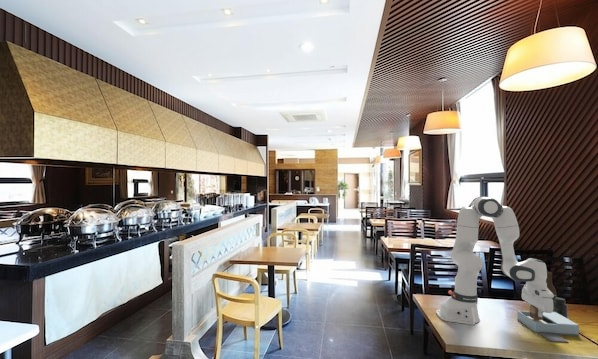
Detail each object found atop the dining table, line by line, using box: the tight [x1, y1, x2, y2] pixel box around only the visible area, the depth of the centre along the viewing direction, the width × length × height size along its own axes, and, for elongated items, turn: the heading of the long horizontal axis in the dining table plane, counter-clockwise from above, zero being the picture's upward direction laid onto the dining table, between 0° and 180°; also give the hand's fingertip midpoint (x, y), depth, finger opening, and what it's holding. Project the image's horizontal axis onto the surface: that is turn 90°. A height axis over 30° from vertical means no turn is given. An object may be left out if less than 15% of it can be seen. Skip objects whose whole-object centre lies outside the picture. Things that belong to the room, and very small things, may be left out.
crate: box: [516, 310, 580, 337], centre depth 161 cm, size 20×16×6 cm
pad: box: [538, 333, 569, 344], centre depth 149 cm, size 8×8×1 cm
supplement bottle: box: [553, 296, 569, 319], centre depth 171 cm, size 7×7×12 cm
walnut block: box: [529, 306, 543, 320], centre depth 162 cm, size 4×4×6 cm
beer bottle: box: [546, 271, 558, 302], centre depth 183 cm, size 8×8×24 cm
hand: (536, 314), depth 162 cm, fingers closed on walnut block, 4 cm apart
